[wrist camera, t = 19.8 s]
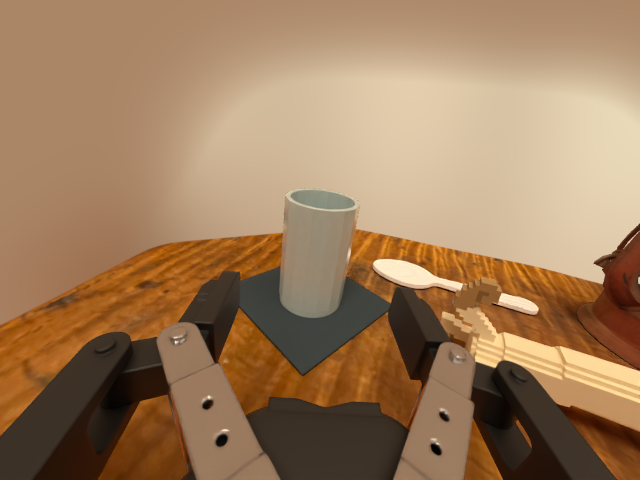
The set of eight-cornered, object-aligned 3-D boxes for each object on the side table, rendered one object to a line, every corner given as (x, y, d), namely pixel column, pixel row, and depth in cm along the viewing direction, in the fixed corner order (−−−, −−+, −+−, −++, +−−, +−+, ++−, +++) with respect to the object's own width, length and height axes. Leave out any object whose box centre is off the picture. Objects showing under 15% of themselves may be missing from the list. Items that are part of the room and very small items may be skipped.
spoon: (547, 326, 25) (549, 322, 25) (369, 275, 30) (370, 272, 30) (526, 296, 30) (528, 292, 30) (375, 256, 35) (376, 253, 34)
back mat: (302, 376, 17) (303, 374, 17) (222, 288, 25) (222, 287, 25) (393, 307, 25) (393, 305, 25) (312, 256, 33) (312, 255, 33)
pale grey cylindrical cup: (307, 328, 21) (322, 215, 17) (266, 292, 25) (271, 192, 21) (352, 301, 25) (374, 204, 21) (311, 273, 29) (323, 186, 25)
